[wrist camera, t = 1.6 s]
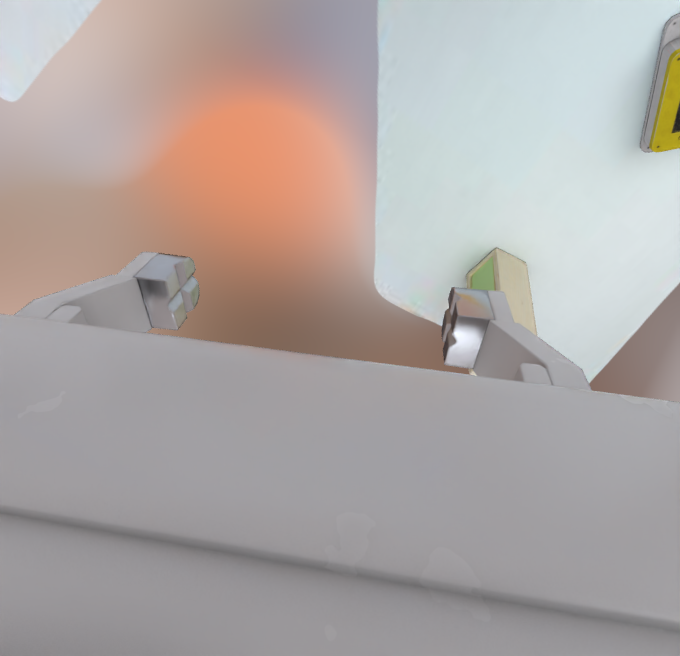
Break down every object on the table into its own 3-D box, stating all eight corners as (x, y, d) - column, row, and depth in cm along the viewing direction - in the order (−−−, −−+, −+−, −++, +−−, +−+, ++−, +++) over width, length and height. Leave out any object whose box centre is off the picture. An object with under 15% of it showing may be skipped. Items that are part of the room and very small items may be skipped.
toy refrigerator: (493, 244, 68) (502, 350, 56) (527, 261, 70) (543, 368, 58) (462, 272, 74) (464, 372, 62) (494, 287, 76) (502, 388, 64)
